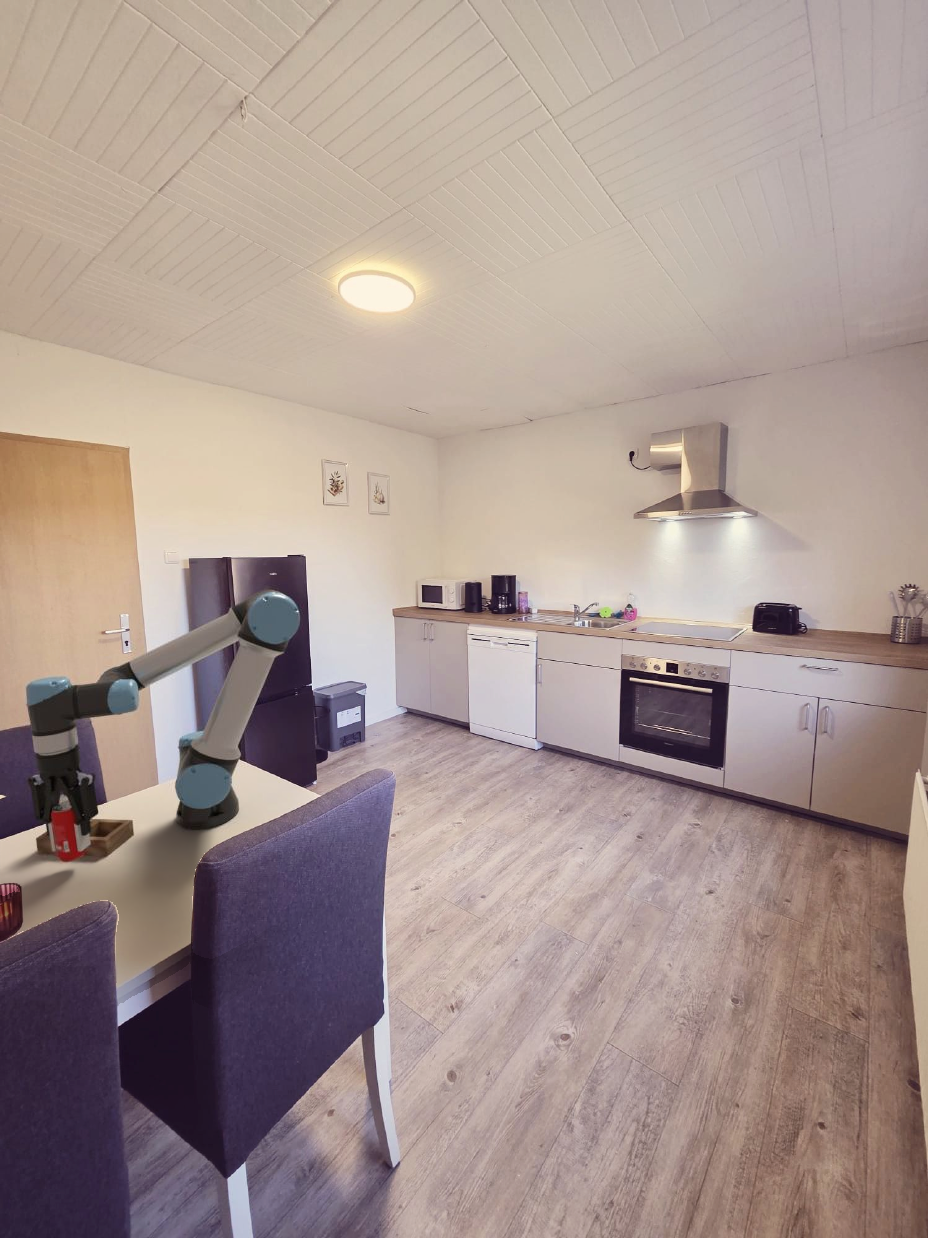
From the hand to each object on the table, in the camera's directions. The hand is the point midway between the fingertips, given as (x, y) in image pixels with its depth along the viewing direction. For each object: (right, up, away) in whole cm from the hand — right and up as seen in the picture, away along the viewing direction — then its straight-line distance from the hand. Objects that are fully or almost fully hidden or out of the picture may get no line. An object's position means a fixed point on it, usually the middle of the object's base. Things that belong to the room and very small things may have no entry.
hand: (71, 847), depth 114 cm
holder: (-4, -4, +11) cm, 12 cm away
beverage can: (0, -2, 0) cm, 2 cm away
